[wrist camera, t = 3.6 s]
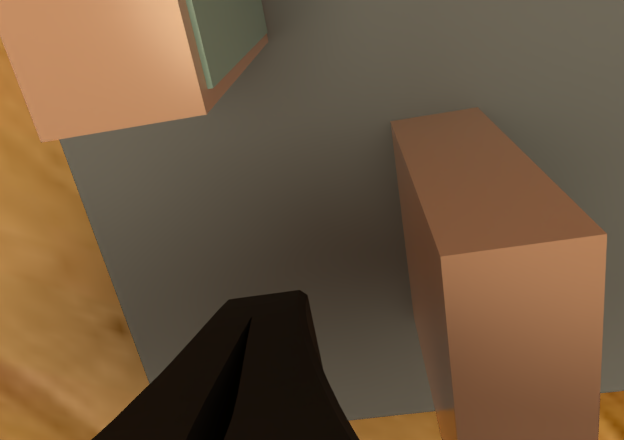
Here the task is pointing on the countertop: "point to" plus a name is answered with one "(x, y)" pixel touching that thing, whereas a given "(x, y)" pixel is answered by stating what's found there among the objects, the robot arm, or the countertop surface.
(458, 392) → the tile far
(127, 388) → the countertop surface
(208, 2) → the tile near
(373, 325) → the mat
